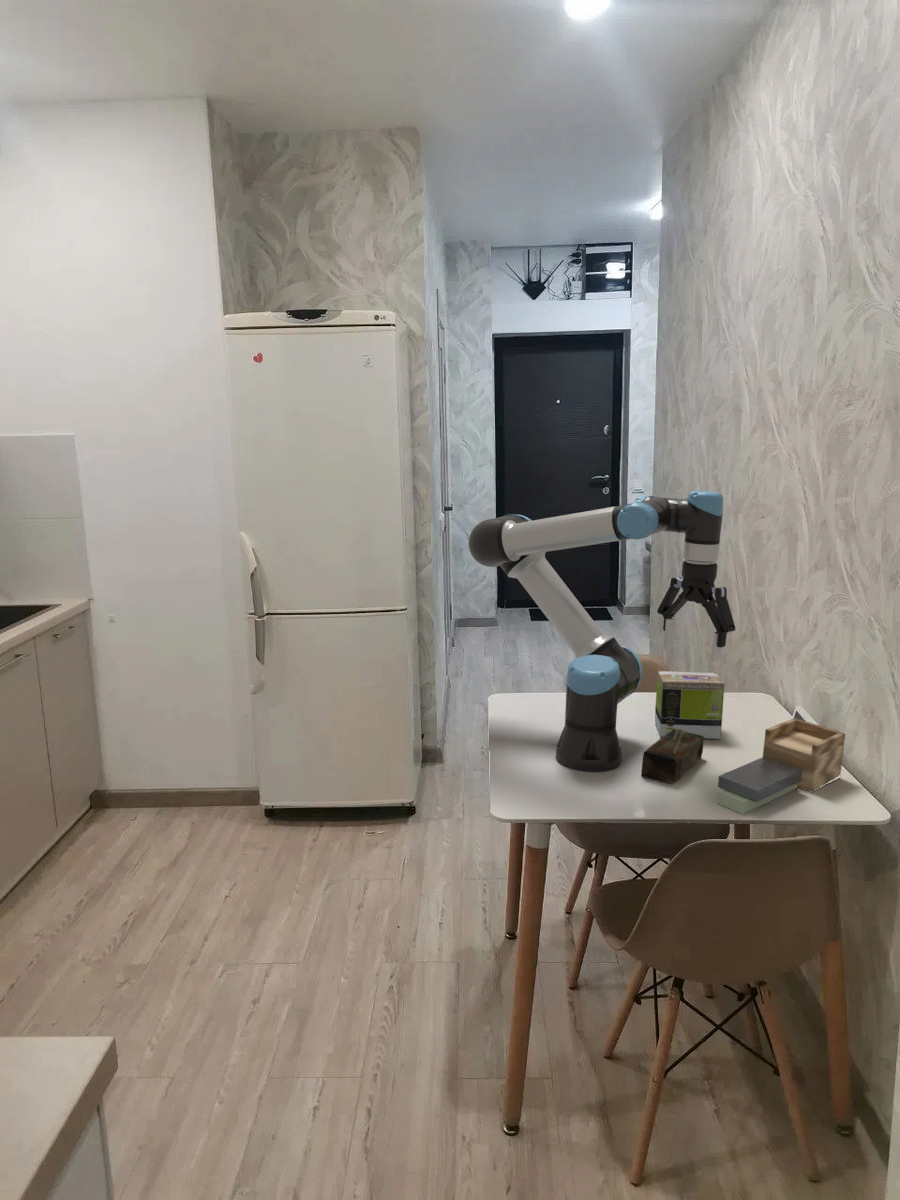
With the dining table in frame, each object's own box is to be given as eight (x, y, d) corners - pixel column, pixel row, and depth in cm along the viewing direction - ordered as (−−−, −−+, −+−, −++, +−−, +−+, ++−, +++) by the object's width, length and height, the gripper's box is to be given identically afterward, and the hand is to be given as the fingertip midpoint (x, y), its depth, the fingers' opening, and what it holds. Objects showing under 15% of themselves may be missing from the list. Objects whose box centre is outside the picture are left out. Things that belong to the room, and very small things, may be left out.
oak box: (811, 792, 183) (816, 746, 181) (761, 773, 193) (765, 729, 190) (839, 778, 191) (845, 733, 189) (789, 760, 200) (794, 718, 198)
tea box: (712, 726, 221) (717, 671, 218) (720, 740, 212) (726, 683, 208) (653, 723, 223) (657, 668, 220) (658, 737, 213) (662, 680, 210)
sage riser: (742, 814, 173) (744, 802, 172) (717, 803, 177) (718, 792, 177) (796, 788, 185) (797, 777, 185) (770, 779, 190) (771, 768, 189)
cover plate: (756, 802, 172) (757, 790, 172) (717, 787, 179) (718, 776, 179) (800, 781, 183) (802, 770, 182) (762, 767, 190) (763, 756, 189)
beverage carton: (703, 759, 201) (706, 732, 199) (674, 787, 185) (676, 759, 184) (671, 751, 205) (673, 725, 204) (639, 778, 190) (641, 750, 188)
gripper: (758, 569, 183) (748, 664, 188) (668, 551, 203) (661, 637, 208) (736, 572, 179) (726, 669, 184) (646, 553, 199) (639, 642, 204)
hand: (691, 653), depth 196 cm, fingers open, 13 cm apart
